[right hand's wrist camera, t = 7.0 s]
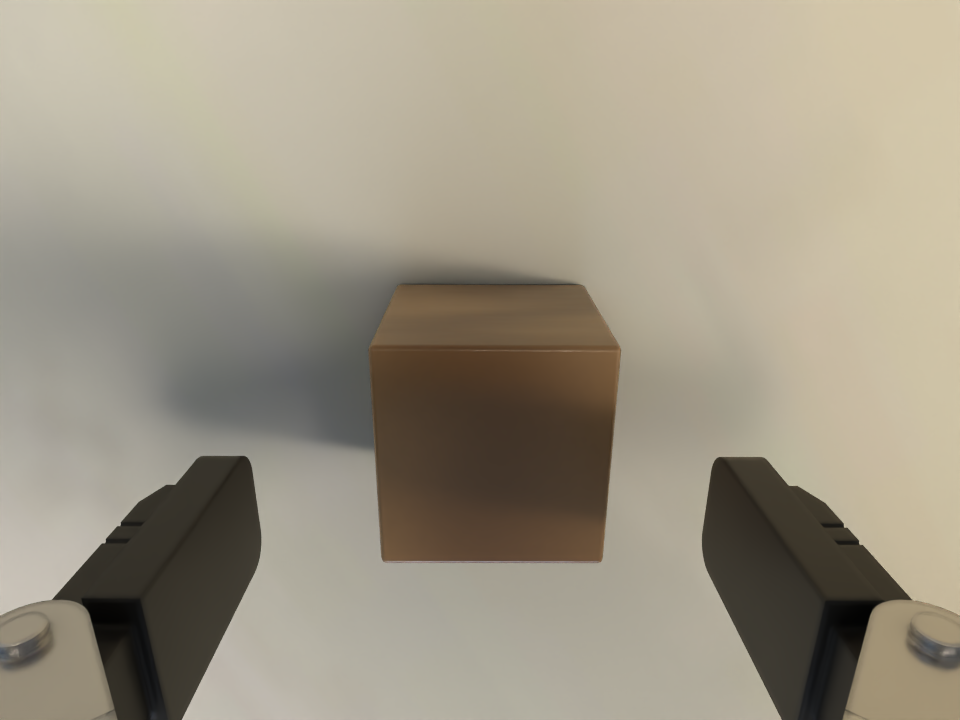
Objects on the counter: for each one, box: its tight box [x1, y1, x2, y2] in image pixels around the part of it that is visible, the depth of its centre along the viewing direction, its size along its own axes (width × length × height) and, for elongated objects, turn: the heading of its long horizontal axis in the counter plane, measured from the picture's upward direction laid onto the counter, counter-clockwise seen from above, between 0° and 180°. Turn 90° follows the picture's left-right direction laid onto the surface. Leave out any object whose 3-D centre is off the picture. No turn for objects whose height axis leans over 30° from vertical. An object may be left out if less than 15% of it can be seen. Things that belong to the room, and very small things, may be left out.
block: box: [368, 285, 621, 563], centre depth 14 cm, size 4×4×4 cm
